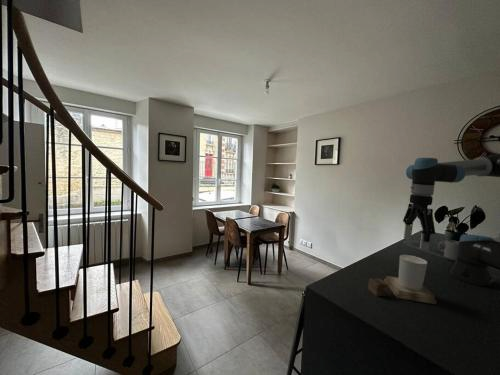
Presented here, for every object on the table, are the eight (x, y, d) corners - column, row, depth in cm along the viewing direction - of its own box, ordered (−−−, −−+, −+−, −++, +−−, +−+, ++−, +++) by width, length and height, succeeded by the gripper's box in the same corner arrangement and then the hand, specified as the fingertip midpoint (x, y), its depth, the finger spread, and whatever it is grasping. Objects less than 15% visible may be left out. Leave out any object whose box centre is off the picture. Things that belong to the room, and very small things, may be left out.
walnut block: (378, 289, 97) (379, 278, 97) (386, 295, 92) (388, 284, 92) (367, 289, 96) (369, 278, 96) (375, 296, 91) (377, 284, 91)
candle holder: (416, 281, 100) (419, 256, 99) (428, 293, 90) (433, 265, 89) (392, 278, 102) (395, 253, 101) (402, 289, 92) (406, 261, 91)
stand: (417, 286, 102) (418, 280, 102) (435, 304, 88) (437, 297, 88) (384, 281, 105) (384, 275, 104) (397, 297, 91) (398, 290, 91)
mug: (461, 258, 143) (463, 242, 142) (461, 262, 137) (464, 245, 136) (437, 252, 151) (439, 237, 150) (436, 255, 145) (438, 239, 144)
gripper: (398, 191, 105) (392, 234, 107) (428, 197, 81) (421, 253, 83) (415, 192, 104) (410, 236, 106) (452, 199, 80) (444, 255, 81)
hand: (414, 243), depth 94 cm, fingers open, 13 cm apart
